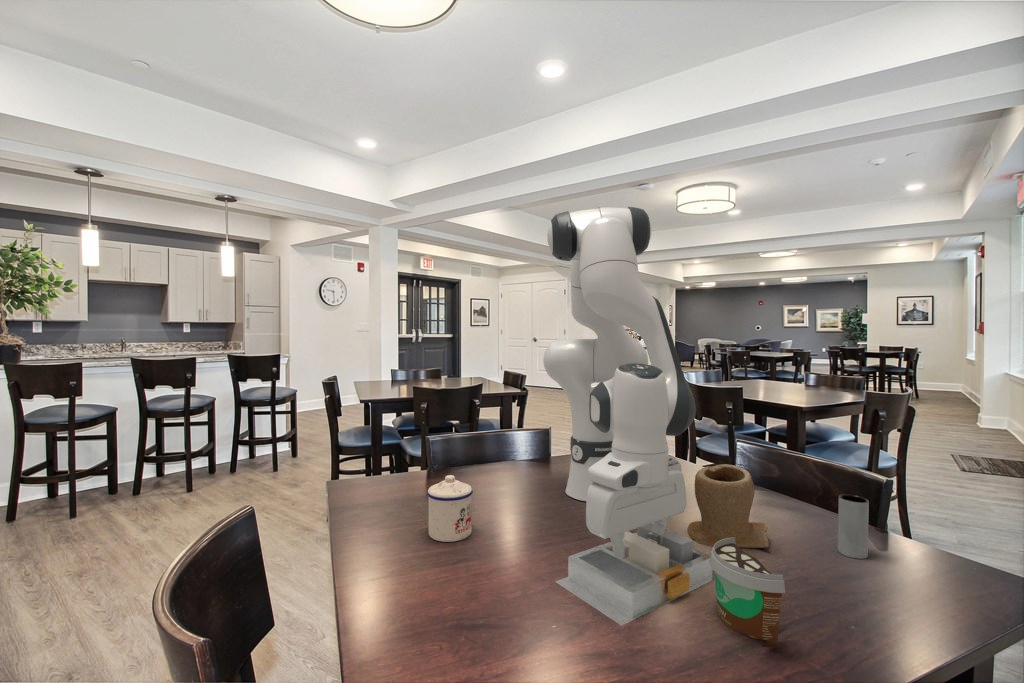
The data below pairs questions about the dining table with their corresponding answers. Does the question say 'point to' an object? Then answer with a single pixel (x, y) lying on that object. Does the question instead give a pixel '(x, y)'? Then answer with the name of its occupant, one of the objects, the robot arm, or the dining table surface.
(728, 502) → the stone cup
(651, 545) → the beige rectangular block
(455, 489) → the teacup with lid
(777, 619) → the food container
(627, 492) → the robot arm
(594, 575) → the rack
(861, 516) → the grey hollow cylinder
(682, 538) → the gray rectangular block
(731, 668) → the dining table surface
